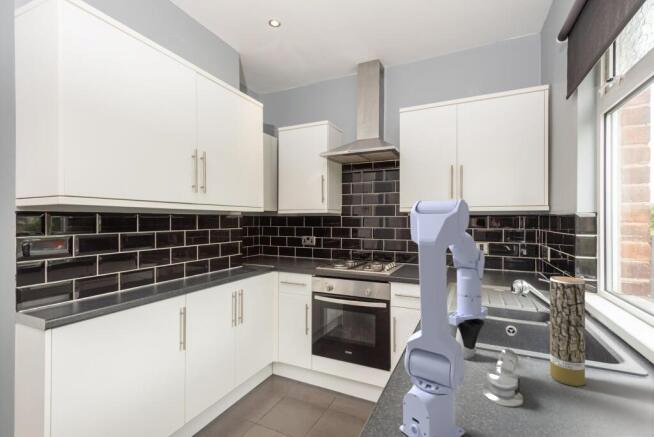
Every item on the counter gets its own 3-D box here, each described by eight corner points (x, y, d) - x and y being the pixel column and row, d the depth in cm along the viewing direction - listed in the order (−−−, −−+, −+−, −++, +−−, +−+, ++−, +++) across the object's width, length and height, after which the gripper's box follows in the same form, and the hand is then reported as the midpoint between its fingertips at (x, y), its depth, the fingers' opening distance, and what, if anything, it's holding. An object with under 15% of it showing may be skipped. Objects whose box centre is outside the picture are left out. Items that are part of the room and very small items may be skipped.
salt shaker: (477, 354, 91) (477, 310, 91) (475, 362, 86) (475, 315, 86) (455, 350, 94) (455, 307, 93) (452, 357, 89) (452, 312, 89)
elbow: (516, 396, 65) (516, 377, 65) (485, 387, 69) (484, 369, 69) (522, 368, 77) (522, 352, 77) (495, 361, 81) (495, 346, 81)
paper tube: (591, 389, 72) (591, 282, 72) (558, 386, 74) (558, 281, 73) (574, 374, 79) (574, 276, 79) (544, 371, 80) (544, 276, 80)
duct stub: (512, 411, 64) (512, 394, 64) (475, 393, 71) (475, 378, 71) (531, 397, 69) (531, 381, 69) (494, 381, 76) (494, 367, 76)
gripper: (468, 302, 72) (468, 361, 72) (499, 293, 80) (499, 346, 80) (441, 296, 77) (441, 350, 77) (473, 288, 86) (473, 337, 86)
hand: (469, 347), depth 79 cm, fingers closed
